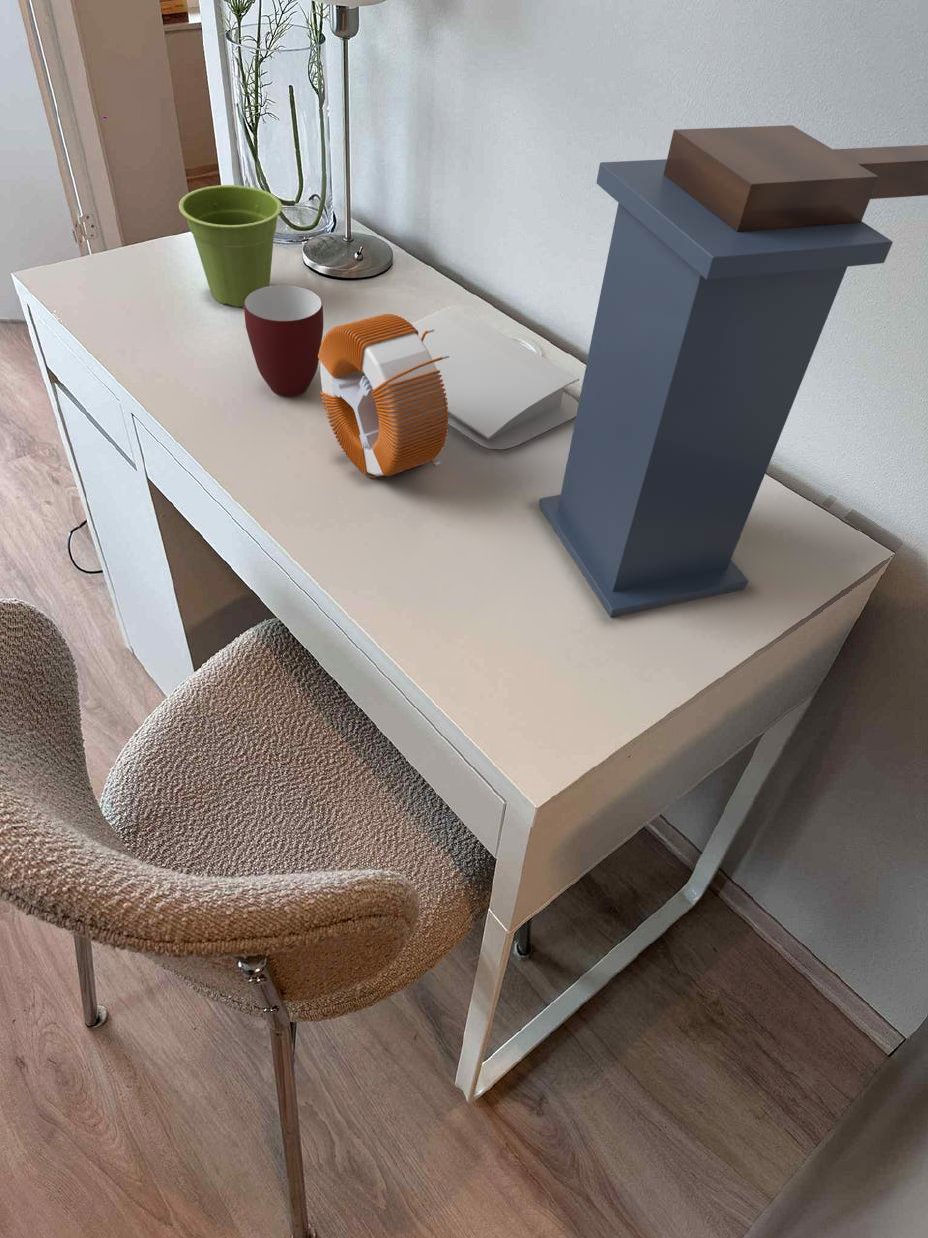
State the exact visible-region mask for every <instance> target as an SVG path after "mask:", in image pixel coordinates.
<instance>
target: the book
mask: <svg viewBox="0 0 928 1238" xmlns="http://www.w3.org/2000/svg"><path fill="white" fill-rule="evenodd" d="M410 324H411V325H413V327H415V328H416V330H418V336H419V337H420V339H421V338H422V335H423V333H424V332H425V331H427V330H430V329H434V332H430V333H427V334H426V335H425V338H424V340H423V343H424V345H425V346H426V348H427V350H428V351H429V353H430V356H431V358H432V360H433V359H436V358H439V357H443V356H446V355H449V358H446V359H442V360H439V361H436V362H434V364H435V366H436V369H437V370H440V373H438V375H442V377H440V379H443V382H441V384H444V387H442V388H445V389H446V390H445V391H444V392H443V393H446V396H445V397H446V398H447V400H446V402H448V405H447V406H448V412H449V413H448V416H449V418H448V420H449V422H448V426H451V427H452V428H454V429H455V430H456V431H458V432H459V433H461V434H462V435H464V436H465V437H466V438H468V439H470V440H471V441H473V442H474V443H476V444H477V445H478V446H481V447H484V448H486V449H489V450H502V451H503V450H508V449H512V448H514V447H517V446H519V445H521V444H524V443H525V442H527V441H529V440H532V439H533V438H535V437H538V436H539V435H543V434H544V433H546V432H548V431H550V430H552V429H554V428H555V427H558V426H560V425H562V424H564V423H566V422H568V421H570V420H572V419H574V418H576V414H577V409H578V404H579V401H577V400H576V398H575V397H573V396H571V395H569V394H567V392H564V391H565V388H566V387H568V386H570V385H572V384H574V383H577V382H579V381H580V378H579V377H578V376H576V375H574V374H573V373H571V372H569V371H568V370H566V369H564V368H562V367H560V366H559V365H558V364H555V363H554V362H552V361H550V360H549V359H548V358H545V357H544V356H543V355H540V354H539V353H538V352H535V351H533V350H531V349H530V348H529V347H527V346H526V345H523V344H522V343H520V342H518V341H517V340H515V339H513V338H512V337H510V336H508V335H506V334H505V333H503V332H502V331H500V330H498V329H496V328H495V327H493V326H491V325H490V324H488V323H486V322H484V321H482V320H481V319H479V318H478V317H476V316H474V315H473V314H471V313H469V312H467V311H465V310H464V309H462V308H461V307H459V306H457V305H455V304H452V305H449V306H447V307H444V308H441V309H439V310H437V311H434V312H432V313H430V314H428V315H426V316H424V317H421V318H419V319H418V320H416V321H414V322H412V323H410Z"/></svg>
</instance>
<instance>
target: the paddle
mask: <svg viewBox="0 0 928 1238" xmlns="http://www.w3.org/2000/svg"><path fill="white" fill-rule="evenodd" d="M666 159H667V161H666V166H665V170H664V175H665V176H666V177H667V178H669V179H670V180H671V181H673V182H674V183H675V184H676V185H678V186H679V187H680V188H682V189H683V190H684V191H685V192H687V193H688V194H689V195H691V196H692V197H693V198H694V199H696V200H697V201H698V202H700V203H701V204H702V205H703V206H705V207H706V208H707V209H708V210H710V211H711V212H712V213H714V214H715V215H716V216H717V217H719V218H720V219H721V220H723V221H724V222H725V223H726V224H728V225H729V226H730V227H732V228H733V229H734V230H735V231H737V232H742V231H755V230H768V229H781V228H795V227H808V226H821V225H834V224H847V223H860V222H861V221H862V222H863V219H864V216H865V213H866V211H867V209H868V206H869V203H870V201H871V200H881V199H894V198H911V197H924V196H928V144H918V145H917V144H916V145H915V144H914V145H896V146H895V145H894V146H875V147H873V146H871V147H854V148H831V147H830V146H828V145H827V144H825V143H823V142H821V141H820V140H818V139H816V138H814V137H813V136H811V135H809V134H808V133H806V132H804V131H803V130H801V129H799V128H798V127H796V126H794V125H792V124H791V125H787V124H786V125H766V126H765V125H762V126H736V127H735V126H734V127H709V128H708V127H707V128H706V127H705V128H682V129H681V128H680V129H679V128H678V129H677V128H676V129H673V131H672V136H671V140H670V145H669V149H668V153H667V157H666Z"/></svg>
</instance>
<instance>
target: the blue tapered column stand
mask: <svg viewBox="0 0 928 1238" xmlns="http://www.w3.org/2000/svg"><path fill="white" fill-rule="evenodd" d="M666 161H667V158H666V159H665V158H663V159H644V160H624V161H623V160H622V161H621V160H620V161H601V162H599V166H598V172H597V177H596V182H595V183H596V184H597V186H599V187H600V188H601V189H602V190H603V191H604V192H606V193H607V194H608V195H609V196H610V197H611V198H612V199H614V201H616V202H617V208H616V213H615V219H614V223H613V227H612V234H611V238H610V243H609V248H608V254H607V257H606V264H605V269H604V273H603V279H602V284H601V290H600V293H599V298H598V304H597V309H596V313H595V318H594V324H593V329H592V334H591V339H590V344H589V350H588V355H587V359H586V364H585V369H584V375H583V379H582V384H581V390H580V395H579V399H578V403H579V404H578V409H577V414H576V416H575V420H574V425H573V430H572V435H571V439H570V445H569V450H568V456H567V461H566V465H565V471H564V476H563V481H562V486H561V491H560V494H556V495H550V496H544V497H540V498H539V502H538V507H539V508H540V510H541V512H542V513H543V515H544V516H545V517H546V519H547V521H548V522H549V524H550V526H551V527H552V529H553V530H554V532H555V534H556V535H557V537H558V538H559V539H560V542H561V543H562V545H563V546H564V548H565V549H566V551H567V552H568V555H570V557H571V559H572V560H573V562H574V564H575V565H576V566H577V568H578V569H579V571H580V573H581V574H582V576H583V577H584V579H585V581H586V583H588V585H589V587H590V588H591V590H592V591H593V594H595V596H596V597H597V599H598V600H599V602H600V604H601V605H602V607H603V608H604V610H605V611H606V613H607V614H608V617H609V618H615V617H619V616H623V615H628V614H634V613H637V612H642V611H643V612H644V611H647V610H648V611H649V610H650V609H651V610H653V609H656V608H661V607H665V606H670V605H675V604H679V603H685V602H688V601H694V600H699V599H703V598H707V597H711V596H717V595H721V594H726V593H730V592H735V591H739V590H745V589H746V588H747V585H748V583H749V580H748V579H747V577H746V576H745V575H744V573H743V572H742V571H741V569H739V567H738V566H737V565H736V564H735V563H734V561H733V560H732V558H733V556H734V553H735V550H736V548H737V545H738V544H739V541H740V538H741V535H742V533H743V530H744V528H745V525H746V523H747V520H748V518H749V515H750V513H751V511H752V508H753V505H754V503H755V500H756V498H757V496H758V493H759V490H760V487H761V486H762V483H763V481H764V478H765V475H766V473H767V470H768V468H769V465H770V463H771V460H772V457H773V455H774V452H775V450H776V447H777V445H778V443H779V441H780V437H781V435H782V432H783V430H784V427H785V425H786V422H787V421H788V417H789V415H790V412H791V410H792V408H793V405H794V402H795V400H796V397H797V395H798V392H799V391H800V387H801V385H802V382H803V380H804V378H805V374H806V372H807V370H808V367H809V365H810V362H811V360H812V357H813V355H814V352H815V349H816V347H817V345H818V342H819V340H820V337H821V334H822V332H823V329H824V327H825V325H826V322H827V320H828V316H829V314H830V312H831V309H832V307H833V304H834V301H835V299H836V296H837V294H838V292H839V289H840V287H841V284H842V282H843V279H844V277H845V274H846V272H847V269H848V267H858V266H866V265H867V266H868V265H878V264H879V265H880V264H885V262H886V260H887V257H888V254H889V252H890V250H891V249H892V248H891V247H892V246H893V243H894V241H893V240H891V239H890V238H888V237H886V236H885V235H884V234H882V233H881V232H880V231H878V230H876V229H874V227H872V226H870V225H868V224H867V223H865V222H864V221H863V220H862V221H861V222H860V223H847V224H834V225H821V226H808V227H795V228H781V229H768V230H755V231H742V232H737V231H735V230H734V229H733V228H732V227H730V226H729V225H728V224H726V223H725V222H724V221H723V220H721V219H720V218H719V217H717V216H716V215H715V214H714V213H712V212H711V211H710V210H708V209H707V208H706V207H705V206H703V205H702V204H701V203H700V202H698V201H697V200H696V199H694V198H693V197H692V196H691V195H689V194H688V193H687V192H685V191H684V190H683V189H682V188H680V187H679V186H678V185H676V184H675V183H674V182H673V181H671V180H670V179H669V178H667V177H666V176H665V175H664V170H665V166H666Z"/></svg>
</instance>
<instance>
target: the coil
mask: <svg viewBox="0 0 928 1238" xmlns="http://www.w3.org/2000/svg"><path fill="white" fill-rule="evenodd" d="M411 324H412V323H411V322H410V321H408V320H407V319H405V318H404V317H402V316H399V315H396V314H394V313H383V314H379V315H375V316H372V317H371V316H370V317H367V318H363V319H360V320H356V321H352V322H347V323H345V324H341V325H337V326H335V327H332V328H331V329H330V330H328V331H327V332H326V333H325V335H324V337H322V342H321V346H320V349H319V354H318V358H319V362H320V365H319V366H320V367H319V368H320V369H319V374H320V384H321V391H320V395H321V396H320V398H321V399H322V400H321V402H322V403H323V405H322V406H323V407H324V411H325V415H328V416H327V418H326V419H328V423H329V426H330V427H331V431H333V435H335V436H334V437H335V439H336V440H337V442H338V444H339V446H340V448H341V449H342V451H343V452H344V454H345V455H346V457H347V458H348V459H349V461H350V462H351V463H352V464H353V465H354V466H355V467H356V469H358V470H359V471H360V472H361V473H363V474H364V475H365V476H366V477H368V478H380V477H381V478H382V477H385V476H386V477H390V476H393V475H396V474H398V473H401V472H404V471H408V470H410V469H412V468H415V467H419V466H421V465H423V464H426V463H430V464H431V466H432V467H435V466H438V465H441V464H442V462H441V461H437V462H434V460H435V459H436V458H437V457H438V456H439V455H440V453H441V452H442V450H443V448H444V446H445V443H446V440H447V437H448V430H449V424H448V422H449V420H448V418H449V416H448V413H449V412H448V406H447V405H448V402H446V400H447V398H446V397H445V396H446V393H443V392H444V391H445V390H446V389H445V388H442V387H444V384H441V382H443V379H440V377H442V375H438V373H440V370H437V369H436V366H435V364H434V362H436V361H439V360H442V359H446V358H449V355H446V356H443V357H439V358H436V359H433V360H432V358H431V356H430V353H429V351H428V350H427V348H426V346H425V345H424V343H423V340H424V338H425V335H426V334H427V333H430V332H434V329H430V330H427V331H425V332H424V333H423V335H422V338H421V339H420V337H419V336H418V330H416V328H415V327H413V325H411Z"/></svg>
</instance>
